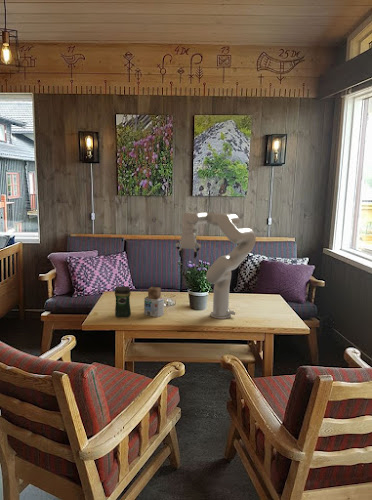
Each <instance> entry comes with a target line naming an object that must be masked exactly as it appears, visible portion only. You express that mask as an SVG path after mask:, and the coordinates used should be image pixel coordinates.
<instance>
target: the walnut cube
mask: <svg viewBox="0 0 372 500" xmlns="http://www.w3.org/2000/svg"><path fill="white" fill-rule="evenodd" d="M161 288H162V287H156V286H151V287H149V288H148V290H147V297H148V299H159V298H160V297H161V295H162V293H161V291H162V289H161ZM161 298H162V297H161Z"/></svg>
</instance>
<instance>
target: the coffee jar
mask: <svg viewBox="0 0 372 500" xmlns="http://www.w3.org/2000/svg"><path fill="white" fill-rule="evenodd" d="M114 297H115V309H114V317H115V318H121V319H122V318H130V317H131V315H132V314H131V313H132V312H131V311H132V310H131V302H130V297H131V287H130V286H121V285H120V286H117V285H116V286H115V289H114Z"/></svg>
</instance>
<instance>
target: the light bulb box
mask: <svg viewBox="0 0 372 500" xmlns="http://www.w3.org/2000/svg"><path fill="white" fill-rule="evenodd" d="M143 300H144V301H143V302H144V305H143V306H144V307H143V310H144V311H143V314H144V315H146V316H151V317H156V318H160V317H161V316H163V315H165V313H164V311H165V309H164V308H165V306H164V305H165V298H164V297H160V298H159V299H148V296H147V297H144V299H143Z"/></svg>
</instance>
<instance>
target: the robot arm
mask: <svg viewBox="0 0 372 500" xmlns="http://www.w3.org/2000/svg"><path fill="white" fill-rule="evenodd" d="M239 224H240V217H239V216H238V215H237V214H235V213H225V212H224V213H223V212H208V211H205V212H204V211H203V212H202V211H201V212H200V211H199V212H193V211H185V212H183V214H182V232H181V235H180V241H178V242H177V243H175V247H176V249H177V250H178V251H179V252H178V255H179V258H182V257H183V250H185V249H186V250H187V249H188V250H193V251H194V252H193V258H194V259H196V258H197V257H198V251H199V250H200V249H201V247H202V244H200V243H198V242H197V234H196V233H197V229H196V228H195V227H196V226H197V225H212V226H213V227H214V228H215V227H216V228H219V229H220V230H221V232H222V233H223V234H224V235H225V237H226V238H227V239H228V240H229V241H230V242H231V243H232V244H234V245H235V244H236V246H235V247H234V248H233V249H232V251H230V252H229V253H228V254H226V255H221V256H219V257H218V258H217V259H216V260H215V261H214V262H213V263H212V265H211V266H210V267H209V268H208V270H207V271H206V275H205V278H206V281H207V282H208V283H210V284H212V285H213V298H212V300H213V301H212V302H213V303H212V304H213V305H212V311H211V312H210V313H209V314H210V315H209V316H210V317H212V318H214V319H221V320H222V319H223V320H224V319H225V320H226V319H229V318H231V317H232V315H234V316H235V315H236V312H235V311H234V310H231V309H230V307H229V305H230V304H229V303H230V301H229V300H230V285H231V279H232V271H235V270H236V269H237V268H238V267H239V266H240V265H241V263H242V262H243V261H244V260H245V258H247V256H248V255H249V254H250V253H251V252H252V250H253V249H254V247H255V245H256V240H257V239H256V234H255V232H254V230H253V229H251V228H249V227H240V228H237V227H238V226H239ZM195 225H196V226H195ZM179 245H180V246H179Z"/></svg>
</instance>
